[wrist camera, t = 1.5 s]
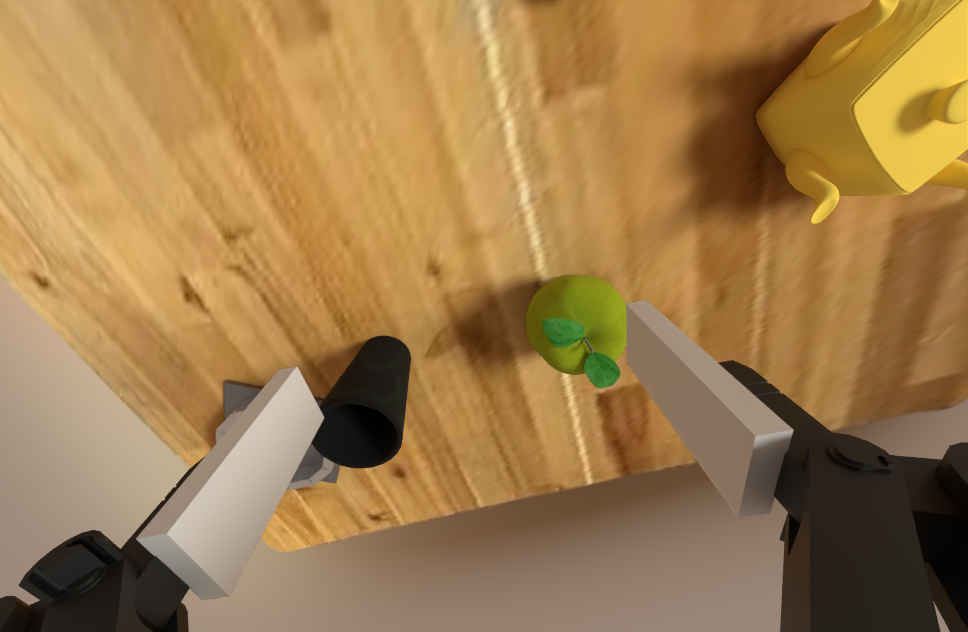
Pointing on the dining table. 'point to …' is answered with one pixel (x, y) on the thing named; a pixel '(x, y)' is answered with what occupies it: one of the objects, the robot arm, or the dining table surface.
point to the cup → (367, 407)
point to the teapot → (876, 105)
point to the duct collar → (312, 462)
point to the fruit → (579, 327)
